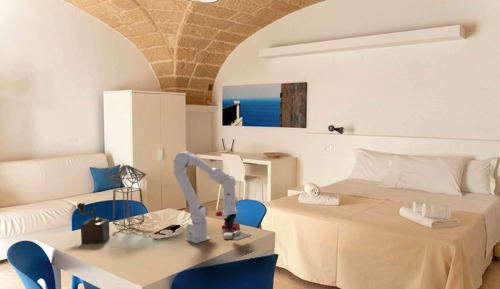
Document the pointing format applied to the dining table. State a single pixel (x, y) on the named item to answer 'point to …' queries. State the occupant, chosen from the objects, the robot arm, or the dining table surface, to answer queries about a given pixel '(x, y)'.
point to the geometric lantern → (127, 192)
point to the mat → (240, 236)
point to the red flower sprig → (235, 225)
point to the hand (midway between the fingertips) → (229, 229)
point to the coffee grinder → (93, 228)
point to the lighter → (230, 235)
